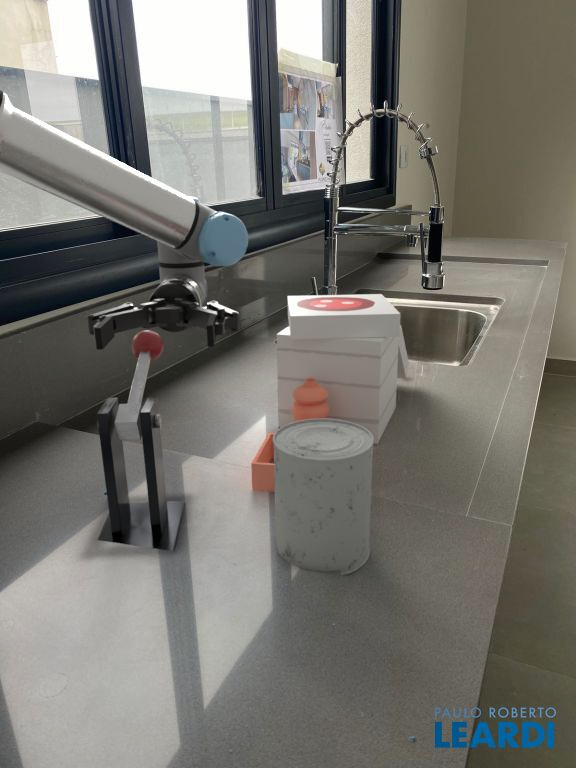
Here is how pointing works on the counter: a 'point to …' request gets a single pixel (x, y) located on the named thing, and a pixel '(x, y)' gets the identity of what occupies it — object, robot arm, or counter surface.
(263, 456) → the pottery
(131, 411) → the lever
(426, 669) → the counter surface
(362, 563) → the grey tin can
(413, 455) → the counter surface
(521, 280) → the counter surface
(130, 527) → the bracket
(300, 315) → the pizza boxes
